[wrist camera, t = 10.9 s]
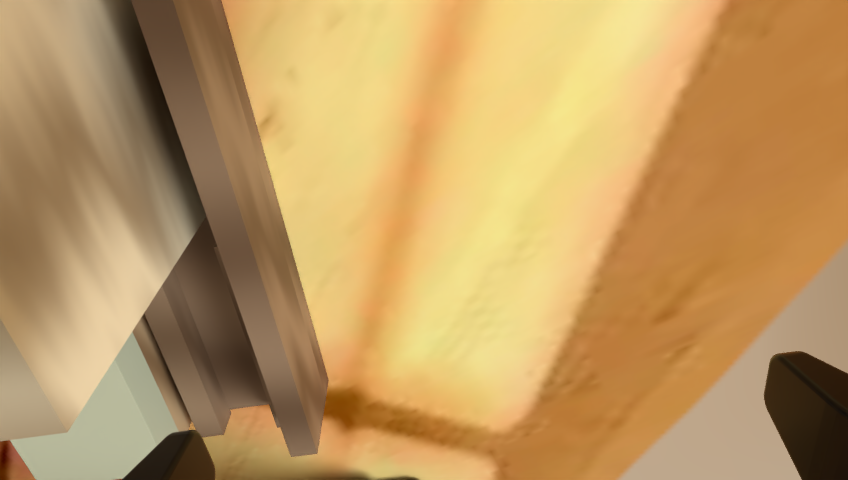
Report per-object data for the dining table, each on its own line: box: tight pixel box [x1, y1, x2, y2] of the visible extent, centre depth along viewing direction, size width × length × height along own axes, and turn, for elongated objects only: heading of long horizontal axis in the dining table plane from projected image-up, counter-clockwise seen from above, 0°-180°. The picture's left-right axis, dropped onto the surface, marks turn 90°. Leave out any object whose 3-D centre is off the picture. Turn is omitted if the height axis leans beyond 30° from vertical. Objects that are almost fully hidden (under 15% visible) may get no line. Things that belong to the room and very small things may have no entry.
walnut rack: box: [131, 0, 328, 457], centre depth 20 cm, size 17×12×4 cm
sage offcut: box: [10, 332, 179, 480], centre depth 21 cm, size 8×5×2 cm, turn 8°
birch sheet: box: [0, 0, 206, 441], centre depth 14 cm, size 8×2×10 cm, turn 8°
